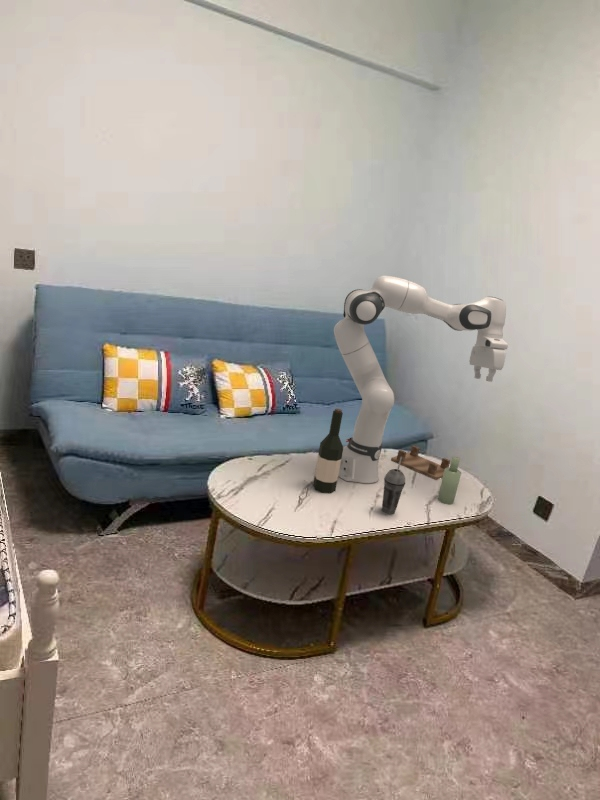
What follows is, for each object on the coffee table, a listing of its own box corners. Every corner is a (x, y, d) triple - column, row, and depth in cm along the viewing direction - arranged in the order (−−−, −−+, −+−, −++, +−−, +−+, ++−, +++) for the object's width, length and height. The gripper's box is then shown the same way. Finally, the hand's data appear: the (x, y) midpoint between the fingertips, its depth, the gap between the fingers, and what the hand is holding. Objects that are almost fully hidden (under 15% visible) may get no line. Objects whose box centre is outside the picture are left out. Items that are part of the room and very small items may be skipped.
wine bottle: (333, 495, 219) (348, 415, 211) (310, 490, 220) (324, 410, 212) (337, 486, 227) (351, 409, 219) (314, 481, 228) (328, 404, 220)
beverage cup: (374, 510, 212) (385, 456, 207) (383, 504, 218) (394, 451, 213) (392, 518, 209) (404, 464, 203) (402, 512, 215) (414, 458, 209)
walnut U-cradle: (390, 460, 261) (393, 449, 260) (408, 454, 272) (410, 443, 270) (436, 480, 248) (439, 468, 246) (453, 473, 258) (455, 461, 257)
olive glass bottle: (434, 499, 230) (444, 456, 225) (442, 495, 234) (452, 453, 229) (448, 505, 226) (459, 462, 221) (456, 501, 231) (467, 459, 226)
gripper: (468, 340, 236) (462, 376, 238) (494, 342, 216) (487, 382, 218) (483, 341, 237) (478, 377, 239) (510, 344, 217) (504, 383, 219)
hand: (483, 379), depth 228 cm, fingers open, 8 cm apart
